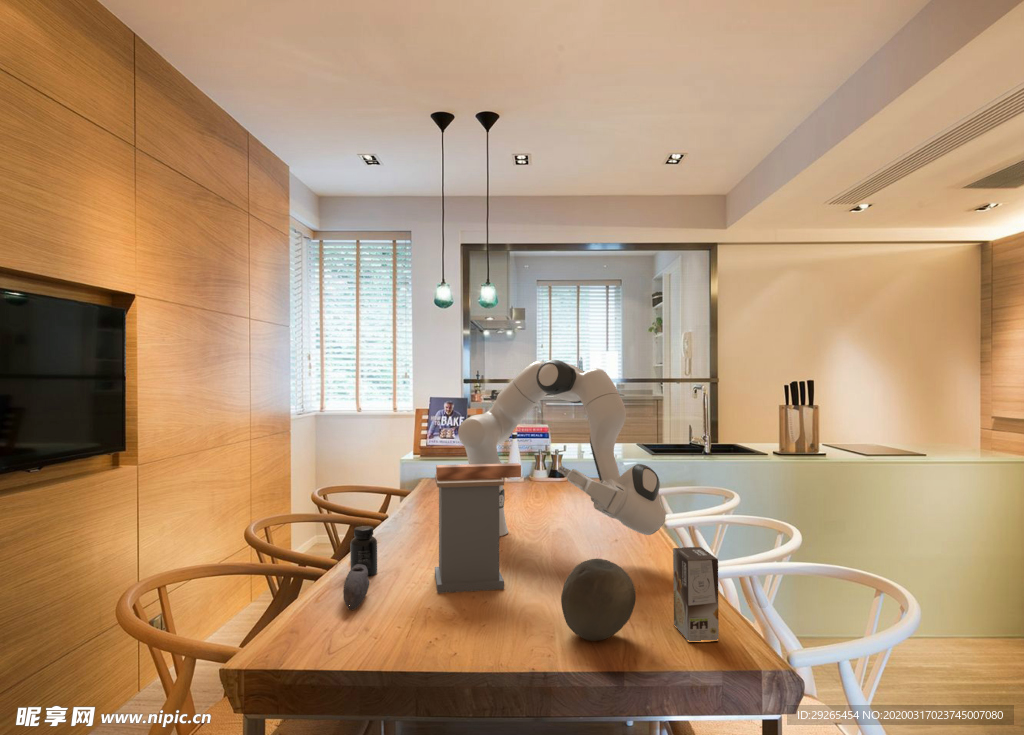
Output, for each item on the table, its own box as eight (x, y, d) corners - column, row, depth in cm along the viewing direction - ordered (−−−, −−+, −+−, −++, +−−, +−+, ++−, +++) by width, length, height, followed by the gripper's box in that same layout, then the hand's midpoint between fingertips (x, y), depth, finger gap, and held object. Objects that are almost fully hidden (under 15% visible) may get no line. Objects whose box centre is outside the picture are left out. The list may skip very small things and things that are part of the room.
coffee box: (720, 642, 120) (719, 559, 121) (688, 643, 120) (687, 560, 120) (702, 623, 130) (701, 546, 130) (671, 624, 129) (671, 547, 129)
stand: (437, 593, 148) (437, 483, 148) (434, 574, 162) (434, 474, 162) (504, 589, 151) (504, 481, 151) (495, 571, 164) (495, 472, 165)
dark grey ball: (588, 659, 113) (588, 576, 114) (548, 631, 126) (548, 556, 126) (649, 644, 120) (649, 565, 120) (605, 618, 132) (605, 547, 133)
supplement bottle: (382, 571, 164) (382, 525, 165) (368, 579, 158) (368, 532, 158) (359, 568, 167) (359, 523, 167) (344, 576, 160) (345, 529, 160)
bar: (436, 479, 153) (436, 467, 153) (436, 477, 157) (436, 465, 157) (521, 477, 157) (521, 465, 157) (518, 474, 161) (518, 463, 161)
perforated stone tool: (361, 615, 135) (361, 583, 135) (336, 616, 134) (336, 583, 134) (372, 591, 150) (372, 562, 150) (349, 591, 149) (349, 562, 149)
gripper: (601, 479, 173) (559, 455, 171) (627, 493, 153) (579, 466, 151) (590, 499, 172) (548, 475, 171) (614, 516, 152) (567, 489, 150)
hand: (563, 471), depth 161 cm, fingers open, 8 cm apart
